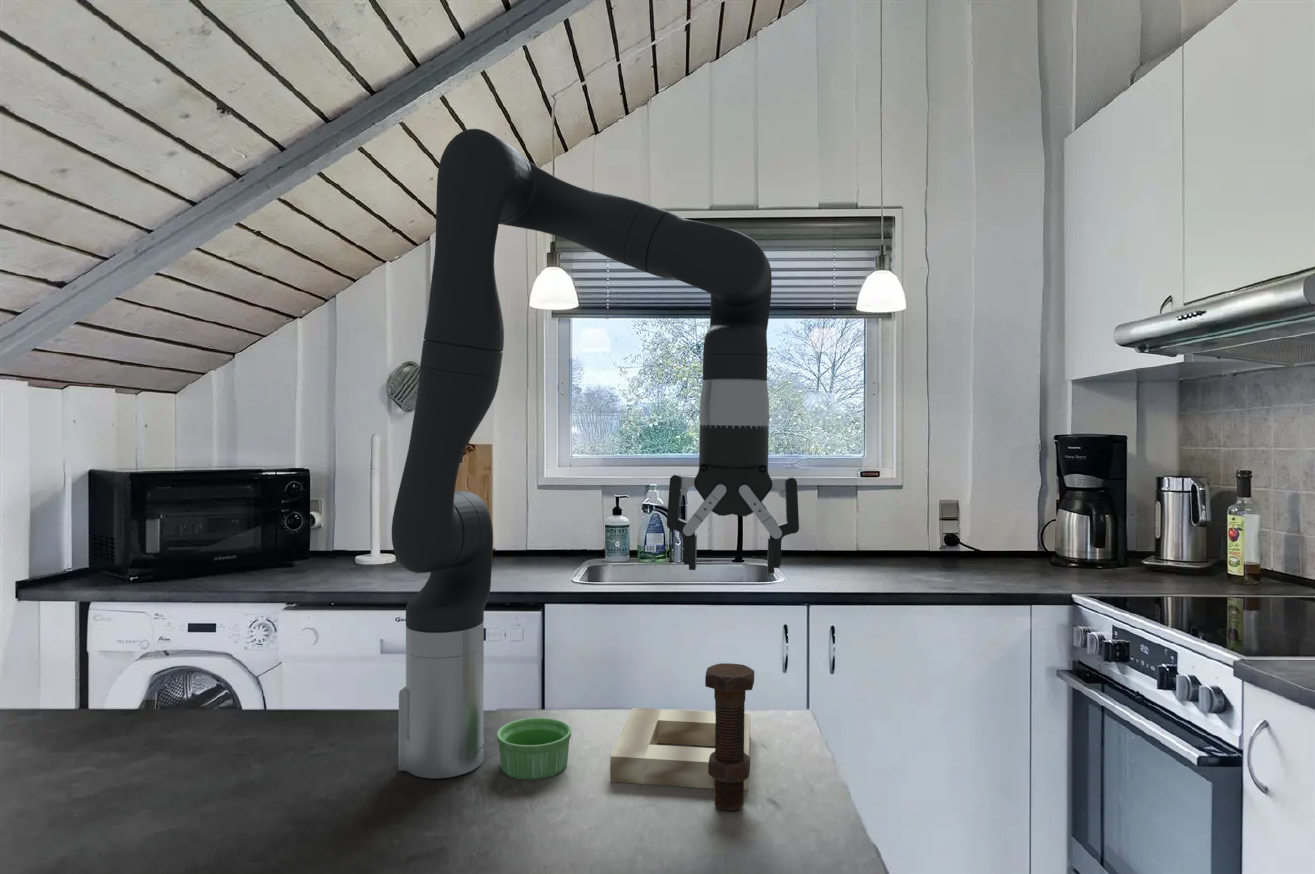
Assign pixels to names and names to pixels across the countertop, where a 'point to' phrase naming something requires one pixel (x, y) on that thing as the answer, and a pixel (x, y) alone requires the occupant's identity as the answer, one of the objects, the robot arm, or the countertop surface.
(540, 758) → the ramekin
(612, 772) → the frame
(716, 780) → the bolt
